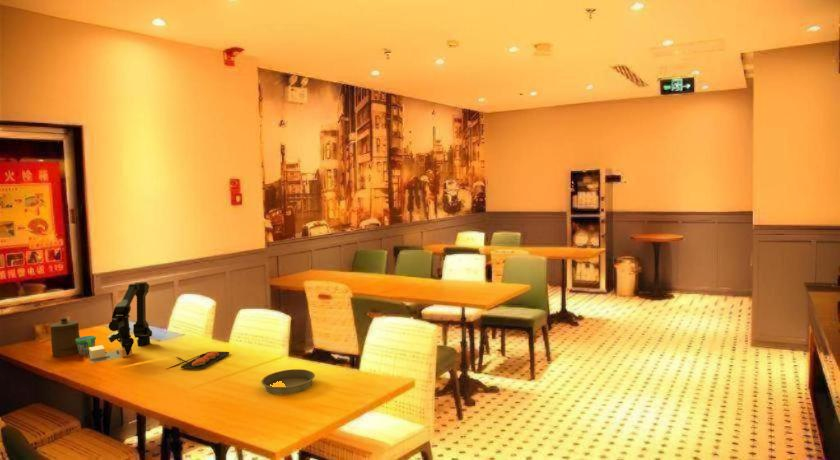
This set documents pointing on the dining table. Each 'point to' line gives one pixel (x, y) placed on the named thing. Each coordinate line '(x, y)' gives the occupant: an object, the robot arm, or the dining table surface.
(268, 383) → the cake pan
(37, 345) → the dining table surface
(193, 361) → the sushi plate
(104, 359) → the base plate
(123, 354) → the orange hollow square block
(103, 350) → the cover
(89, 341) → the snack cup
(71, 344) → the dark grey canister
